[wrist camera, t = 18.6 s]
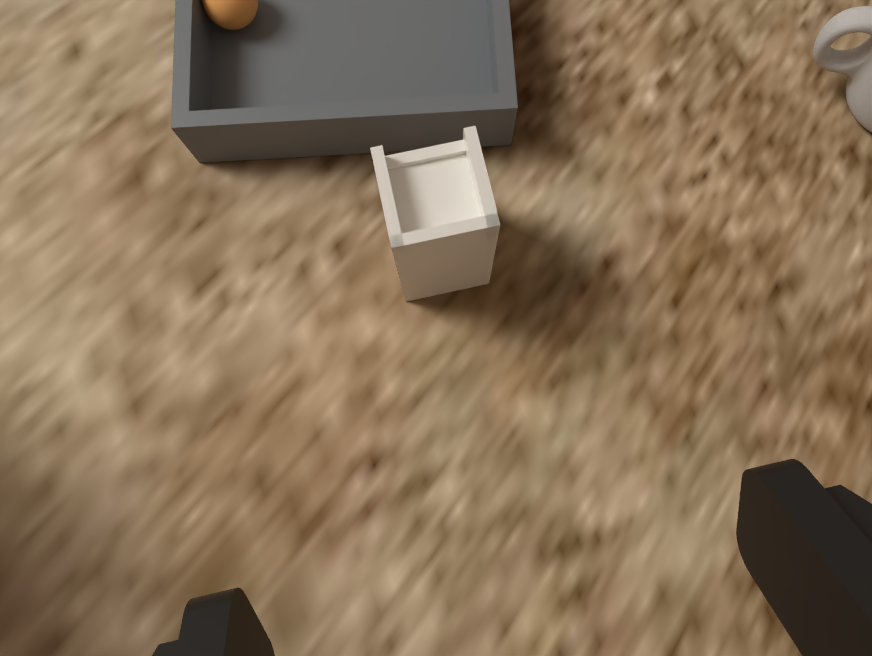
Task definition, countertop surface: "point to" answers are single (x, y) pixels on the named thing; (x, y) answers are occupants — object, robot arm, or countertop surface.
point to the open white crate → (439, 215)
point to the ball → (231, 12)
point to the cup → (850, 59)
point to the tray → (342, 77)
